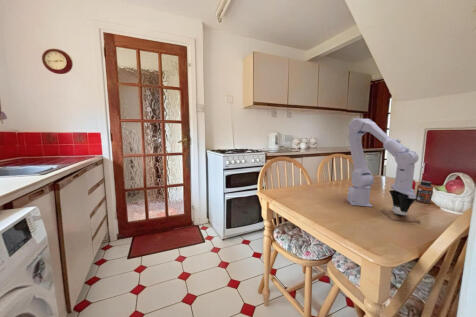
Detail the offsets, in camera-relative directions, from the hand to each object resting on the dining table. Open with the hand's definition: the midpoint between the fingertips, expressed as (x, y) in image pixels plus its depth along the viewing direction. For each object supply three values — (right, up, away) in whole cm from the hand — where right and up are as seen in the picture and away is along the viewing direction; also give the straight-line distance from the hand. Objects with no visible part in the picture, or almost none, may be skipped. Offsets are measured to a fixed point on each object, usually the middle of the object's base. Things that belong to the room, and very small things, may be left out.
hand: (400, 209), depth 84 cm
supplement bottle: (+28, -1, +19) cm, 34 cm away
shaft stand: (0, -3, 0) cm, 3 cm away
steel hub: (0, -2, 0) cm, 2 cm away
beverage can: (+21, -1, +21) cm, 29 cm away
